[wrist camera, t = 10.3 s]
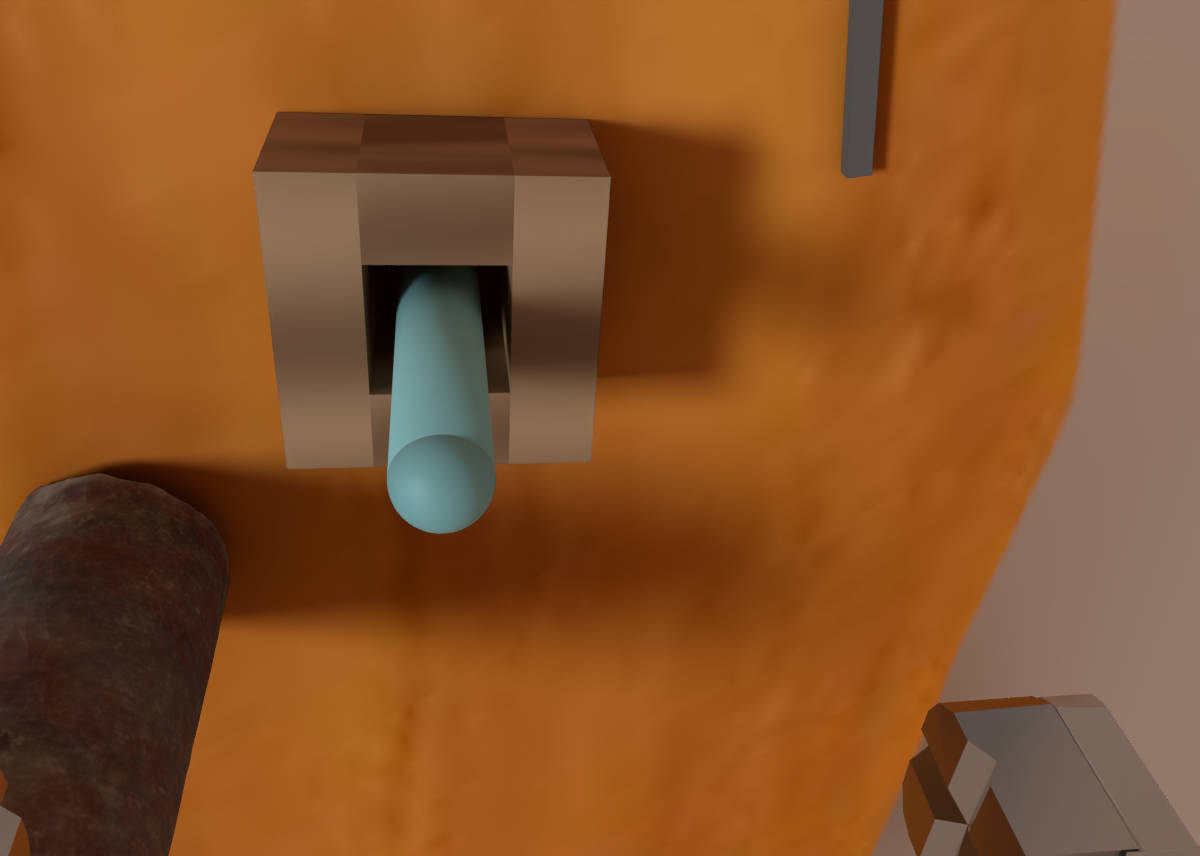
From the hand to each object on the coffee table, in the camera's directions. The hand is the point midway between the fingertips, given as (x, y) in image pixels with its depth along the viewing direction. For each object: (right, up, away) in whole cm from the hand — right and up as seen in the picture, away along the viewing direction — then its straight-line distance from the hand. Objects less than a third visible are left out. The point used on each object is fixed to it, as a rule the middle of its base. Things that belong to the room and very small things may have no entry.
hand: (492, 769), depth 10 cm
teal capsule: (-4, +8, +24) cm, 26 cm away
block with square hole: (-4, +8, +24) cm, 26 cm away
